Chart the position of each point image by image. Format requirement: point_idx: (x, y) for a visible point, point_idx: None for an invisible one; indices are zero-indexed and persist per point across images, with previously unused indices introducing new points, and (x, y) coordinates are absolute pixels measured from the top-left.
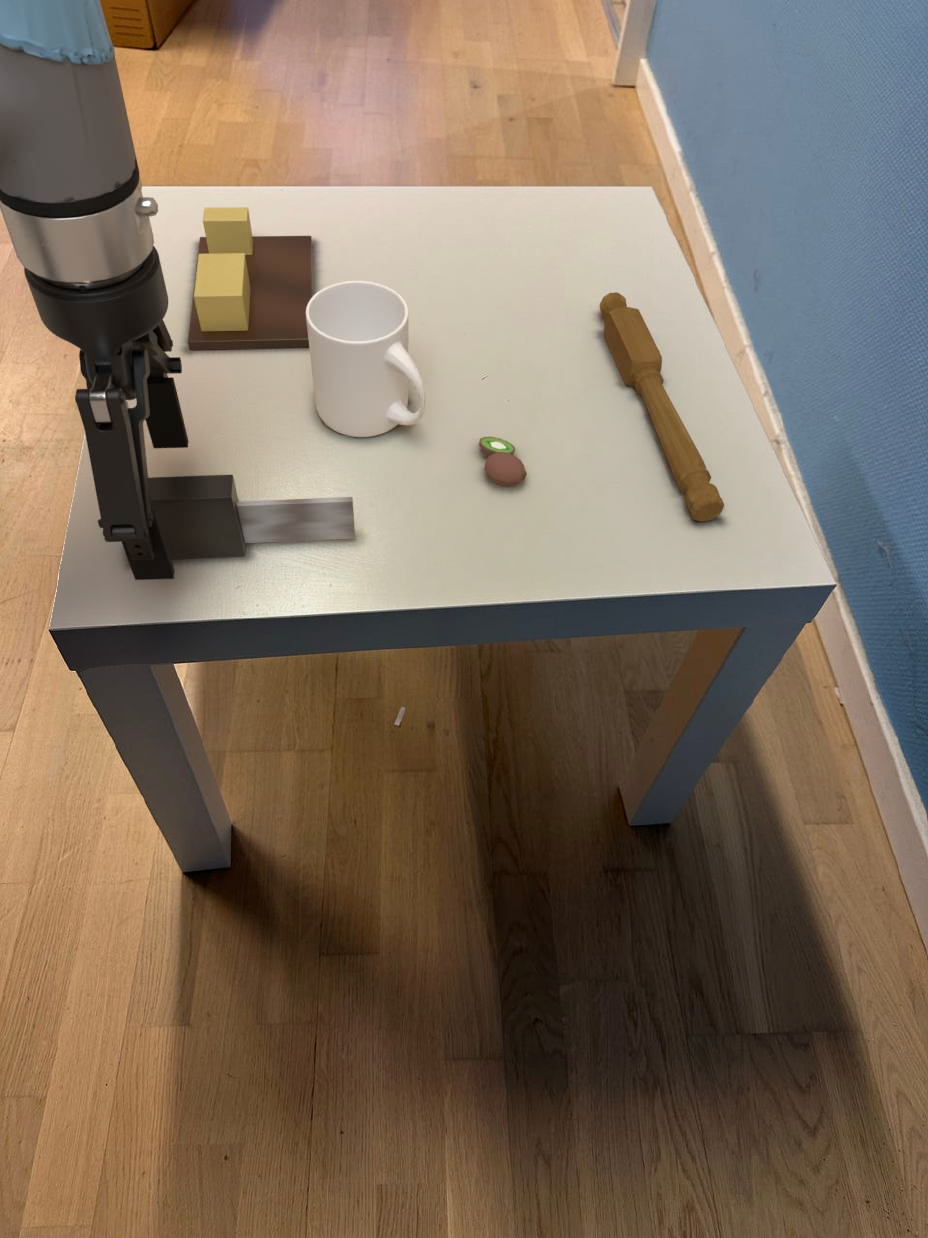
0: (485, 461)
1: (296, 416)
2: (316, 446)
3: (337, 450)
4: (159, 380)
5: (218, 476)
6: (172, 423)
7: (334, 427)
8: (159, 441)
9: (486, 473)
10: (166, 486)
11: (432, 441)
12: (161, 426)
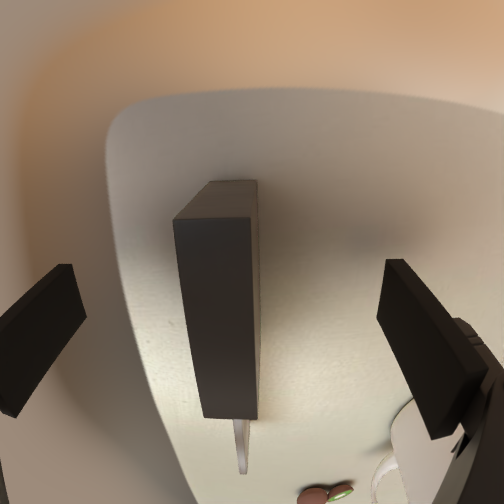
0: (321, 494)
1: None
2: (396, 386)
3: (384, 403)
4: (455, 415)
5: (252, 404)
6: (399, 341)
7: (410, 407)
8: (390, 281)
9: (311, 492)
10: (224, 333)
11: (369, 458)
12: (401, 316)
